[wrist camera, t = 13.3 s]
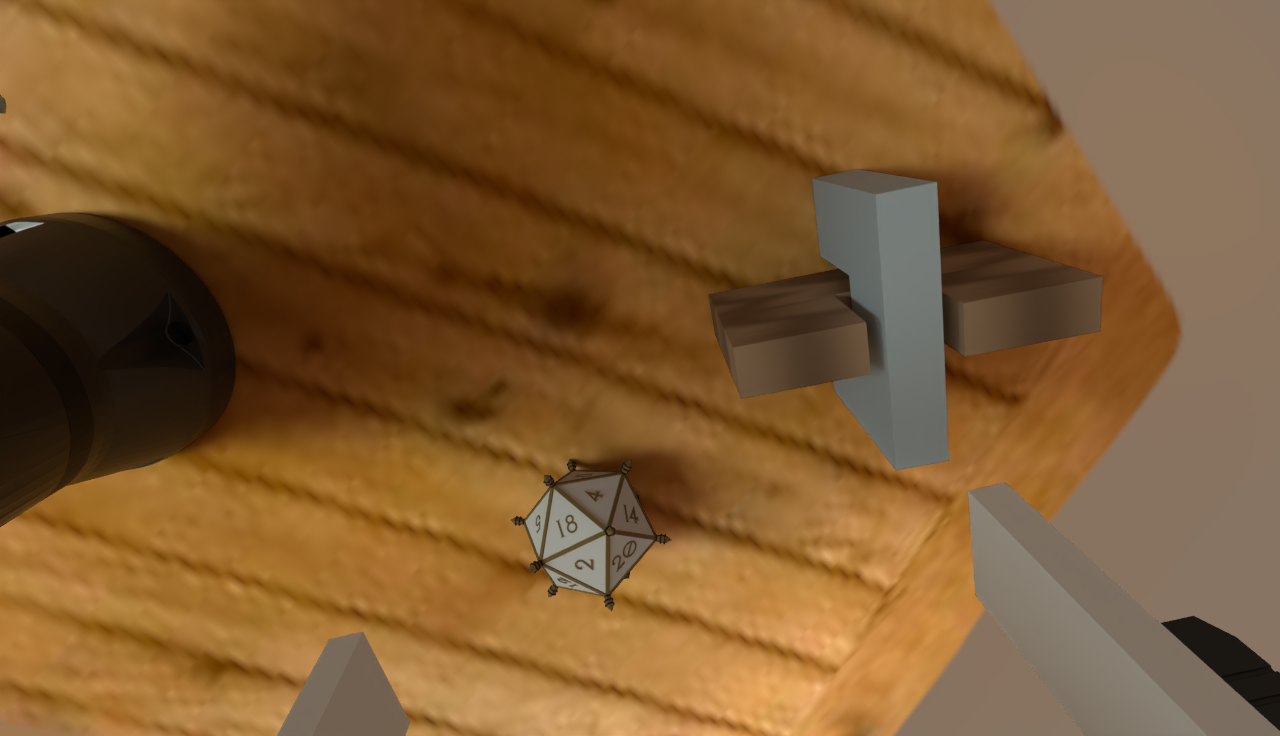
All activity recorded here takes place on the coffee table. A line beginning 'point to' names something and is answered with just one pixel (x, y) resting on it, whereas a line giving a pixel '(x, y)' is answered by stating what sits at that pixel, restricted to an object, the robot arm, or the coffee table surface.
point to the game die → (589, 531)
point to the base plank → (837, 337)
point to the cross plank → (891, 306)
